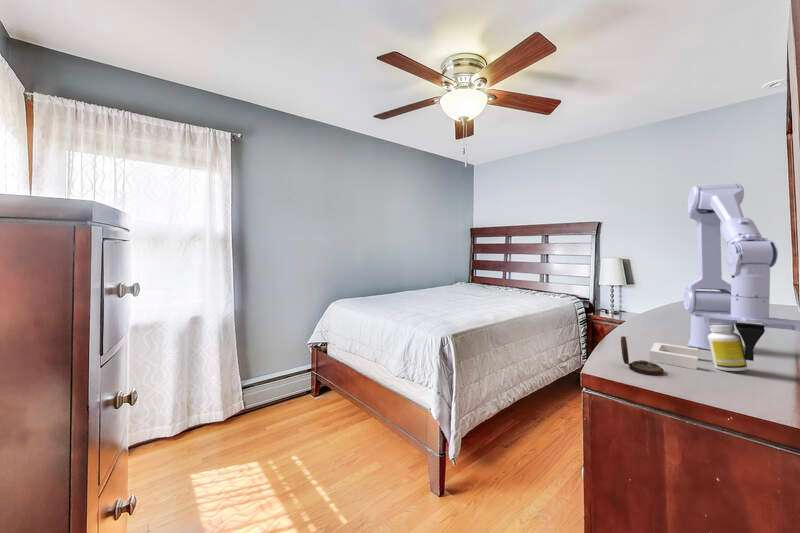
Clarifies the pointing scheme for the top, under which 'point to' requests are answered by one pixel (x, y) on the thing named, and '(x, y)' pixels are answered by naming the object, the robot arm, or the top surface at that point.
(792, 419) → the top surface
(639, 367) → the compass
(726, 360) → the supplement bottle
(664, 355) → the can dock
